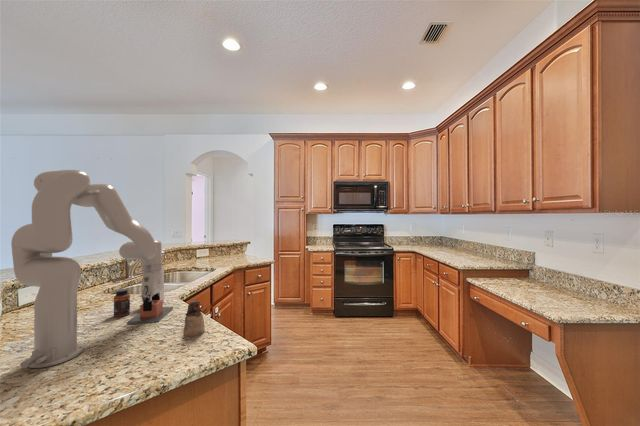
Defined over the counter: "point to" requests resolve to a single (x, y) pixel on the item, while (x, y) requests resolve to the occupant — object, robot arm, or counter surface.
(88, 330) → the counter surface
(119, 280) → the counter surface
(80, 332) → the counter surface
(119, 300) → the supplement bottle
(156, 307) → the red hollow square block
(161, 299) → the milk
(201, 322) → the figurine
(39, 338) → the robot arm
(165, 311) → the plate
